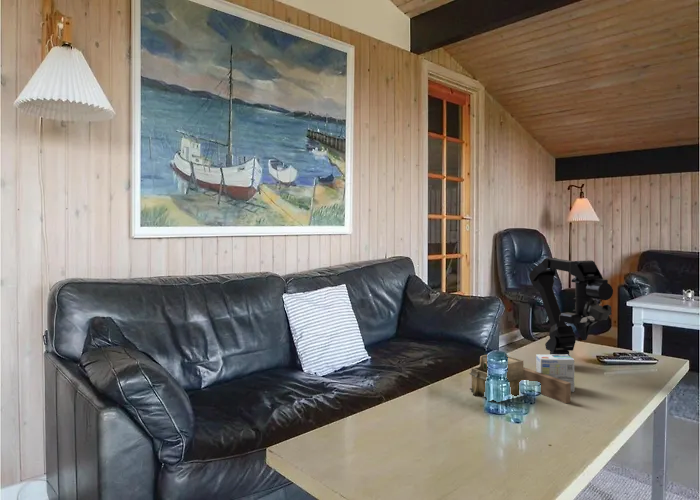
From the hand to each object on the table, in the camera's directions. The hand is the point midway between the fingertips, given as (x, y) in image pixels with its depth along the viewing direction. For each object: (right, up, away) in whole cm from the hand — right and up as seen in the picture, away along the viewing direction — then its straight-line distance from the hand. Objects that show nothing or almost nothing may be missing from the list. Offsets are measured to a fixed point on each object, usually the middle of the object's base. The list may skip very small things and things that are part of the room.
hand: (584, 340), depth 171 cm
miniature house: (-36, -15, -14) cm, 41 cm away
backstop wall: (-21, -14, -14) cm, 29 cm away
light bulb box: (-15, -14, -11) cm, 23 cm away
